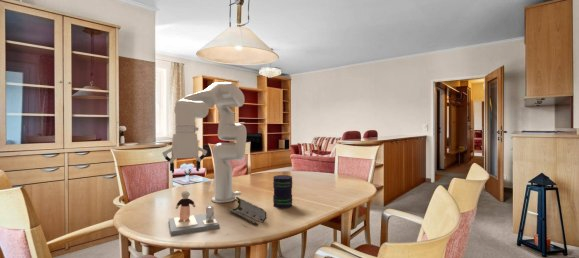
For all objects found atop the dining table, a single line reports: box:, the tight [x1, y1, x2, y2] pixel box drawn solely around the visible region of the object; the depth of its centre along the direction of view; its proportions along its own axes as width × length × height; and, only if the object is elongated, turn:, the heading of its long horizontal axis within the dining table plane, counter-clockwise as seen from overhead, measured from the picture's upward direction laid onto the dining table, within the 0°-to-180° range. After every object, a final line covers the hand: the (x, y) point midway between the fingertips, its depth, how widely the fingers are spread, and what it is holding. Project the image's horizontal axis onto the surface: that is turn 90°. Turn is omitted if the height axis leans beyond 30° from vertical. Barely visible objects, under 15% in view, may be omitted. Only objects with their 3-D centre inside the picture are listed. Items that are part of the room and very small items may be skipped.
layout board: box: [168, 213, 220, 236], centre depth 117 cm, size 18×16×2 cm
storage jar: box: [272, 174, 293, 210], centre depth 145 cm, size 10×10×15 cm
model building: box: [227, 196, 267, 226], centre depth 128 cm, size 7×7×25 cm
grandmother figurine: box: [175, 189, 196, 222], centre depth 117 cm, size 8×4×13 cm, turn 117°
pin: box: [205, 205, 215, 223], centre depth 116 cm, size 3×3×6 cm
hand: (185, 171), depth 116 cm, fingers open, 9 cm apart
